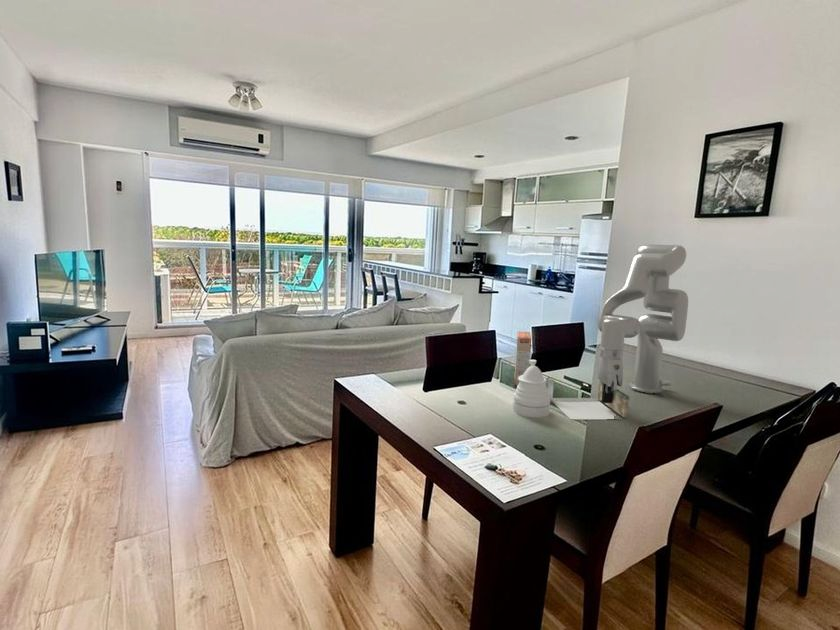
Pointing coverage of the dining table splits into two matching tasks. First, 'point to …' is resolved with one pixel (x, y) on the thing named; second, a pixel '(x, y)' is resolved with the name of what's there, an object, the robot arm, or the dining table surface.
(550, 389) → the gate frame
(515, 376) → the cracker box
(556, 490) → the dining table surface
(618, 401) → the gate
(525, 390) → the honey pot
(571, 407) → the mat
